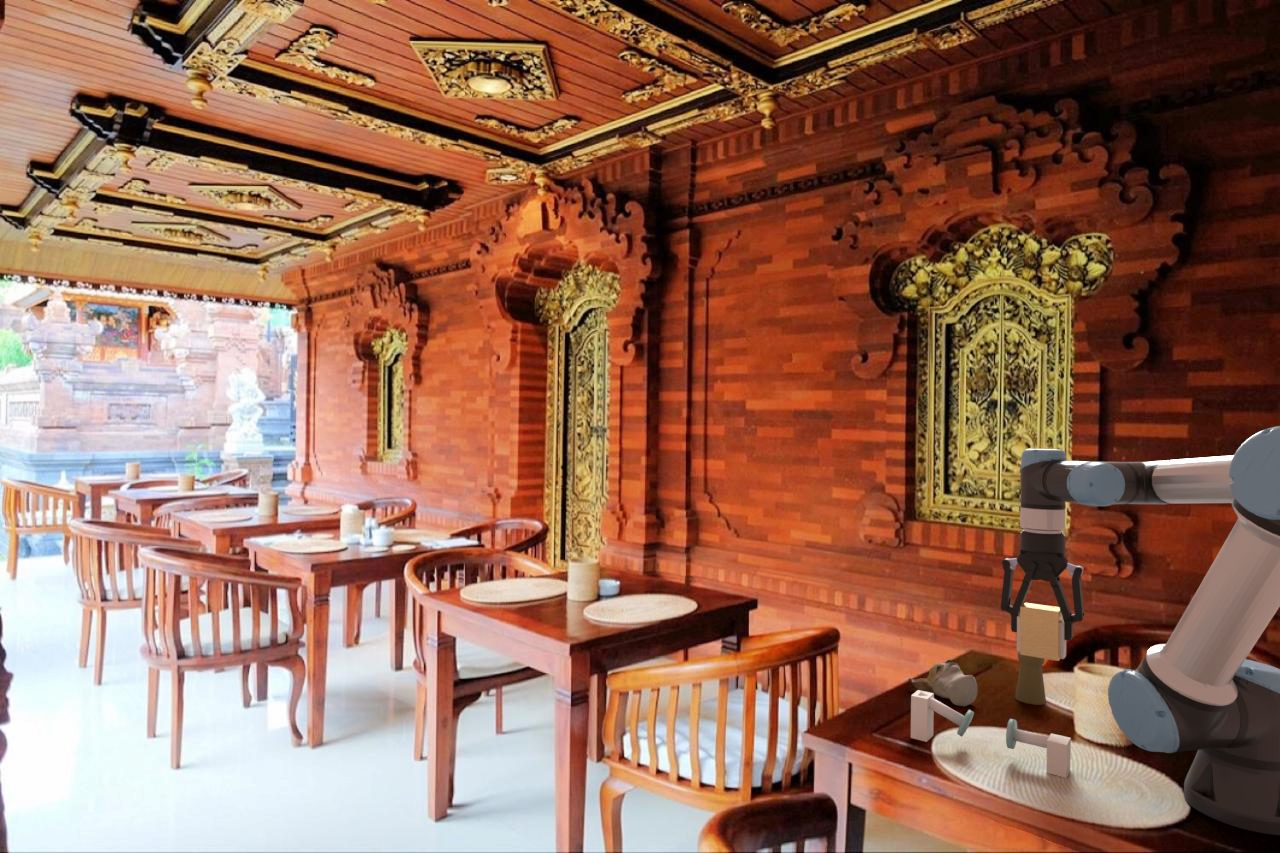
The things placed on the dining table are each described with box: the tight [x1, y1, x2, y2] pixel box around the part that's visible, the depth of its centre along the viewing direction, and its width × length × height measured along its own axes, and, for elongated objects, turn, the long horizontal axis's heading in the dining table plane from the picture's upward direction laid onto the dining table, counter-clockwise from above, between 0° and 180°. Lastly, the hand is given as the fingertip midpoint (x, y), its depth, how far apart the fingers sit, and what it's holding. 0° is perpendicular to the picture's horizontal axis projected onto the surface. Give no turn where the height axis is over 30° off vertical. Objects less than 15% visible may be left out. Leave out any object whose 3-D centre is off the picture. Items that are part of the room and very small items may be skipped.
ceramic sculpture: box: [908, 659, 979, 707], centre depth 166 cm, size 11×9×15 cm
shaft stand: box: [910, 689, 1072, 779], centre depth 138 cm, size 26×5×8 cm, turn 52°
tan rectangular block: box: [1020, 602, 1064, 662], centre depth 143 cm, size 4×6×9 cm
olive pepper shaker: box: [1014, 651, 1047, 706], centre depth 166 cm, size 6×6×11 cm
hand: (1041, 653), depth 143 cm, fingers closed on tan rectangular block, 6 cm apart
